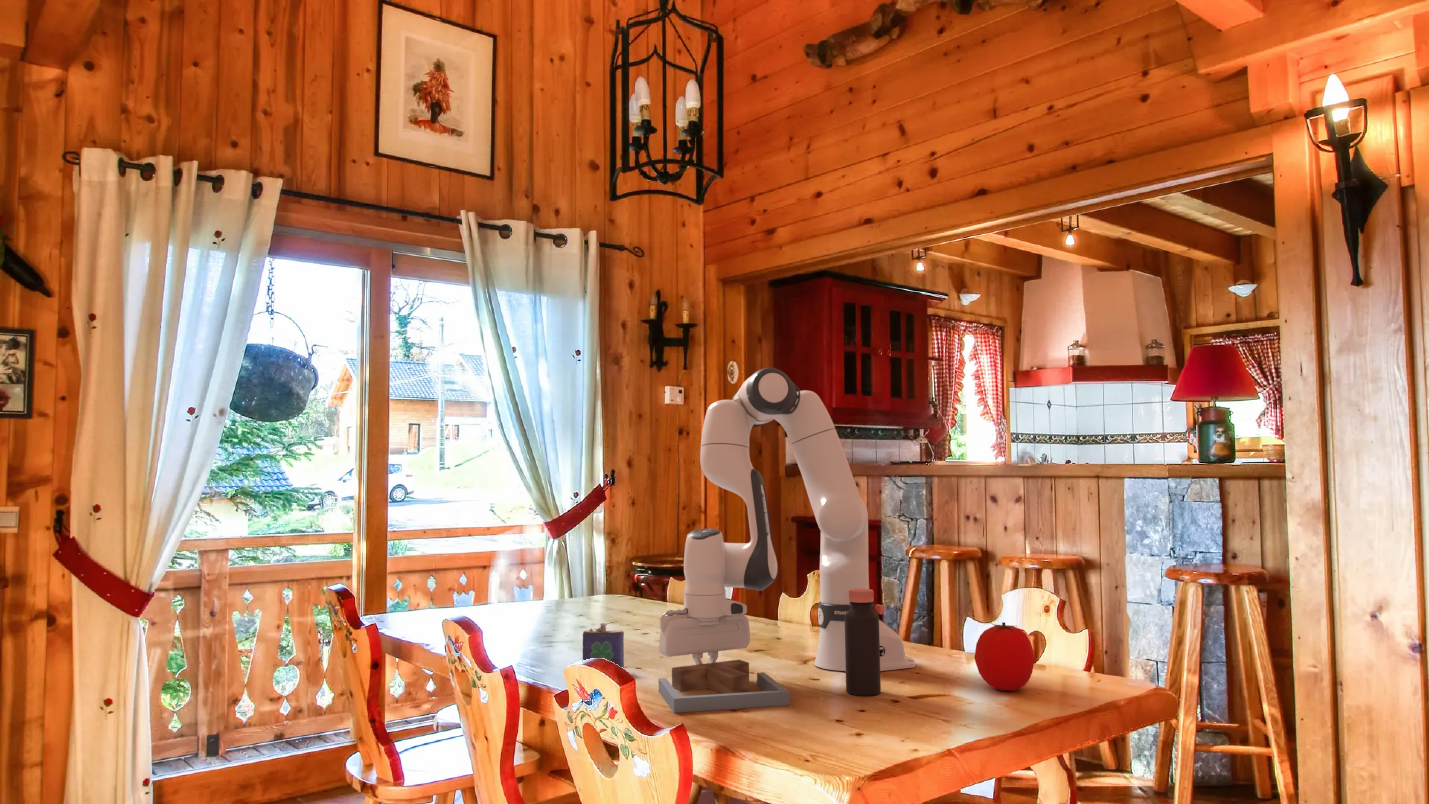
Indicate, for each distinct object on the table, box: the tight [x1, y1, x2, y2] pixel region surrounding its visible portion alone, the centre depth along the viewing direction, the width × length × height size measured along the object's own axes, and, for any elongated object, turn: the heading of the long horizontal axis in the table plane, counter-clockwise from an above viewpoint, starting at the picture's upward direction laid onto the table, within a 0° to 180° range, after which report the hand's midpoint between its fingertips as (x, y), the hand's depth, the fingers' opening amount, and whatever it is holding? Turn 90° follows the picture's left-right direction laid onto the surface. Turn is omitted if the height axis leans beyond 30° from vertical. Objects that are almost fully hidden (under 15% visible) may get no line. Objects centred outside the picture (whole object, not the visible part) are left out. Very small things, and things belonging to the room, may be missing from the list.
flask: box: [582, 622, 625, 669], centre depth 208 cm, size 9×3×11 cm, turn 87°
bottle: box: [845, 588, 882, 697], centre depth 186 cm, size 7×7×20 cm
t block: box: [671, 659, 750, 694], centre depth 189 cm, size 16×14×4 cm
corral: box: [658, 671, 791, 714], centre depth 182 cm, size 22×18×2 cm
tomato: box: [974, 621, 1035, 692], centre depth 187 cm, size 12×12×13 cm
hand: (705, 673), depth 196 cm, fingers closed, pressing on t block
